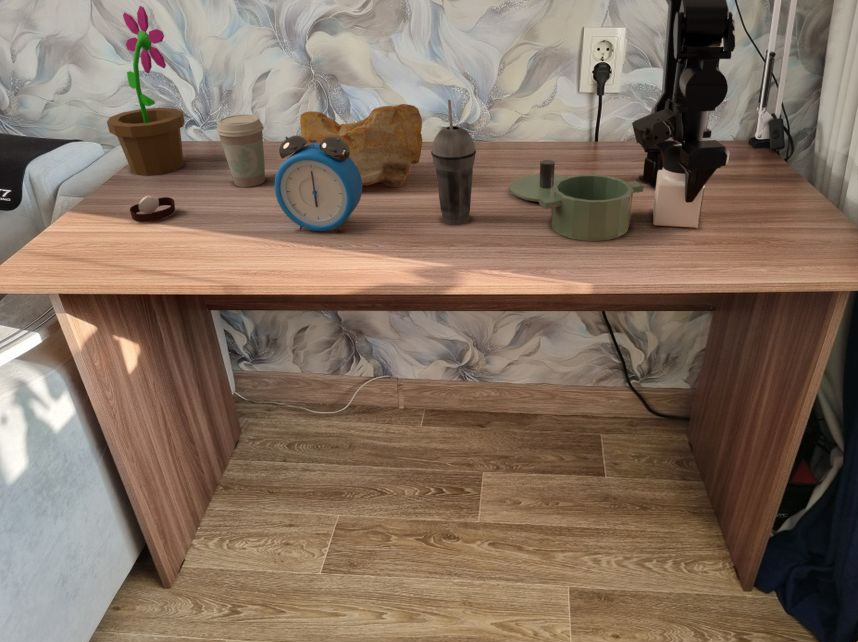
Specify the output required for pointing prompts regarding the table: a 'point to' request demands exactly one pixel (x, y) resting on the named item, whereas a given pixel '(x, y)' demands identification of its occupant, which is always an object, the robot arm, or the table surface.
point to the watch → (152, 209)
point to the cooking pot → (591, 206)
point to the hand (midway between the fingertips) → (678, 192)
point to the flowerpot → (148, 112)
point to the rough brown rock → (374, 141)
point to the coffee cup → (243, 148)
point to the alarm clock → (317, 183)
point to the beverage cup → (454, 171)
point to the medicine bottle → (674, 194)
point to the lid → (536, 183)
